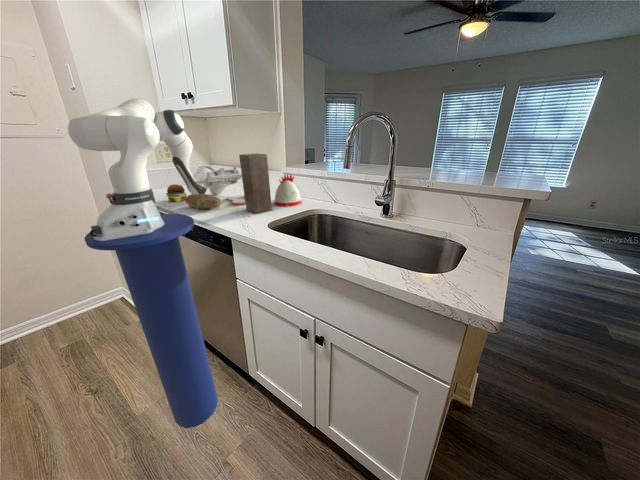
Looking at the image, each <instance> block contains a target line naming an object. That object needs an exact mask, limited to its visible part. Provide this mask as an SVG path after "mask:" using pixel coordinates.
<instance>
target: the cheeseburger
mask: <svg viewBox="0 0 640 480" xmlns="http://www.w3.org/2000/svg"><path fill="white" fill-rule="evenodd" d="M185 190H186V189H185V188H184V186H183V185H181V184H170V185H169V186H167V189H166V193H165V194H166V197H167V199H168V201H169V202H175V203H180V202H182V201H186V197H187V196H188V194H187V192H186V191H185Z"/></svg>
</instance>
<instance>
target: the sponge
mask: <svg viewBox="0 0 640 480" xmlns="http://www.w3.org/2000/svg"><path fill="white" fill-rule="evenodd" d="M185 203H186V204H187V205H188V207H189V206H190V207H193V208H196V209H202V210H206V209H207V210H209V209H211V210H212V209H215V208H220V206H221V205H222V203H221V199H220V198H219V197H217V196H214V195H211V194H207V193H205V194H199V195H198V194H191V193H190V194H187V196H186V199H185Z"/></svg>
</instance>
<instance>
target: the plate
mask: <svg viewBox="0 0 640 480" xmlns="http://www.w3.org/2000/svg"><path fill="white" fill-rule="evenodd" d="M226 200H228V201H230V202H231V203H232V205H233V206H246V204H245V198H240V199H239V198H236V197H233V196H228V197H226Z"/></svg>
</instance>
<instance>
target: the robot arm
mask: <svg viewBox="0 0 640 480" xmlns="http://www.w3.org/2000/svg"><path fill="white" fill-rule="evenodd" d="M67 133H68V136H69V137H70V139H71V141H72V142H73V143H74V144H75V145H76V146H77V147H79V148H80V149H82V150H86V151H92V152H93V151H94V152H120V157H119V160H118V161H116V162H114V163H113V164H112V165H111V166H110V167H109V168H108V172H107V174H108V177H109V181H110V184H111V187H112V190H113V193H111V192H110V193H106V194H105V198H106V200H109V203H110V205H109V206H108V207H107V208H105V210H103V211H102V212H101V213H100V214H99V215H98V216H97V219H96V224H95V225H91V226H90V229H91V230H90V231H89V233H90V235H91V236H92V237H93V239H94V240H96V241H107V240H113V239H118V238H124V237H130V236H136V235H142V234H148V233H151V232H153V231H154V230H156V229H158V228H160V227H162V226H163V225H164V224H165V223H164V221H163V220H162V218H161V216H160V214H161V213H159V210H158V208H157V205H156V197H155V194H154V191H153V189H152V188H151V185H150V181H149V176H148V172H147V171H148V170H147V164H148V158H149V156H150V154H151V152H152V151H153V150H154V149H155V148H156V147H157V146H158V144H159V143H160V142H161V141H163V143H164V144H165V145H166V146H167V147H168V149H169V151H170V154H171V158H172V159H171V160H172V164H173V165H174V167H175V169H176V170H177V172H178V174H179V175H180V177H181V178H182V181H183V182H184V183H185V185H186V188H187V191H188V192H189V193H190V195H191V194H198V195H199V194H206V192H207V190H208V191H209V192H210V193H211V194H212V195H220V194H222V193H223V192H224V191H225V190H226V188H227V187H229V186H232V185H234V184H237V183H239V180H241V179H242V173H241V167H240V168H239V167H237V166H233V167H232V168H231V169H224V168H223V167H221V168H219V169H217V170H215V169H214V168H212V167H210V166H206V165H201V166H199V168H198V169H197V170H196V172H195V173H194V175H193V172H191V169H190V166H189V165H190V159H191V155H192V153H193V142H192V140H191V139H190V137H189V136H188V134H187V133H186V131H185V123H184V121H183V119H182V117H181V115H180V114H179V113H178V112H177V111H175V110H174V109H164V110H163V111H158V112H156V111H155V108H154V106H152V104H151V103H150V102H149V101H148V100H145V99H144V98H139V97H137V98H129V99H128V100H125V101H123V102H121V103H120V104H119V105H117V106H116V107H113V108H109V109H105V110H101V111H98V112H95V113H92V114H89V115H83V116H79V117H74V118H71V119H70V120H69V122H68V125H67Z"/></svg>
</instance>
